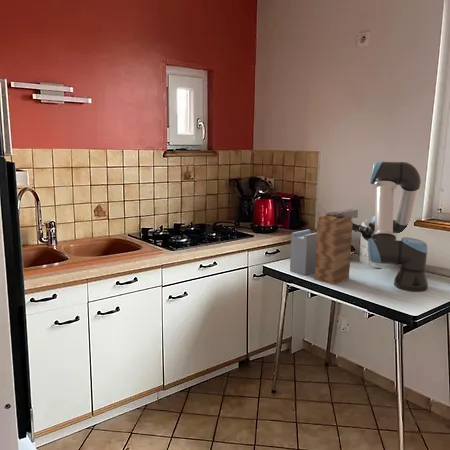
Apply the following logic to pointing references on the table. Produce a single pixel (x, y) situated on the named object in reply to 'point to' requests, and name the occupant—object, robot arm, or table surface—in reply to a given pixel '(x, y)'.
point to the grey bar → (344, 213)
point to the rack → (303, 252)
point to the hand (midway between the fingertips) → (353, 219)
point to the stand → (333, 249)
